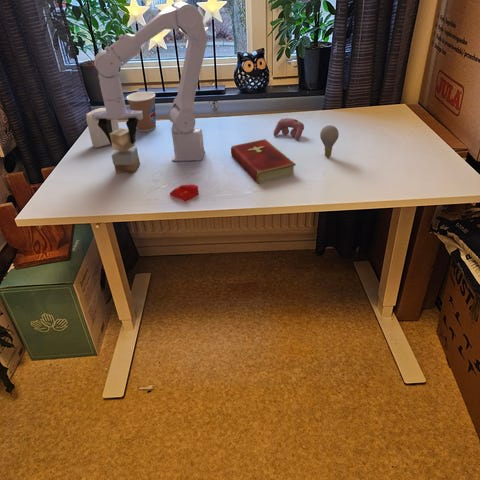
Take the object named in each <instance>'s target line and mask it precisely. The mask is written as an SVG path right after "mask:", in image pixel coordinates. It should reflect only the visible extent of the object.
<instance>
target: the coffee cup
mask: <svg viewBox="0 0 480 480" xmlns="http://www.w3.org/2000/svg"><path fill="white" fill-rule="evenodd" d="M155 97H156V93H155V92H153V91H137V92H132V93H130V94H128V95H127V96H126V97H125V99H126V100H127V102H128V106H129V108H130V109H129V110H134V111H142V113H143V118H142V119H141V120H138V123H137V127H136V130H138V131H140V132H148V131H152V130H155V128H156V127H157V126H156V124H157V117H156V114H157V113H156V103H155V102H156V101H155V100H156V98H155Z"/></svg>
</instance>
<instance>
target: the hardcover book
mask: <svg viewBox="0 0 480 480" xmlns="http://www.w3.org/2000/svg"><path fill="white" fill-rule="evenodd" d="M230 154H231V157H232V158H233V159H234V161H236V162H237V164H238V165H239V166H240V167H241V168H242V169H243V170H244V171H245V172H246V173H247V174H248V175H249V176H250V178H252V179H253V180H254V181H255V182H256V183H257V184H258V185H260V183H266V182H269V181H273V180H277V179H282V178H286V177H291V176H294V168H295V167H296V163H295V162H293V161H292V160H291V159H290V158H289V157H287V156H286V154H284V153H283V152H281V151H280V150H279V149H278V148H276V146H275V145H273V143H271V142H269V141H268V140H267V139H266V138H263V139H259V140H254V141H249V142H244V143H240V144H236V145H231V147H230ZM294 166H295V167H294Z"/></svg>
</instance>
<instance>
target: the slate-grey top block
mask: <svg viewBox="0 0 480 480" xmlns="http://www.w3.org/2000/svg"><path fill="white" fill-rule="evenodd" d="M138 156H139V153H138V148H137V147H135V146H134V147H132V148H130V149H128V150H127V151H125V152H123V151H118V150H114V152H113V153H112V154H111V159H112V163H113V165H133V164H134V162H135V161H136V159H137V158H138Z"/></svg>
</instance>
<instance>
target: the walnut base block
mask: <svg viewBox="0 0 480 480" xmlns="http://www.w3.org/2000/svg"><path fill="white" fill-rule="evenodd" d="M113 165H114V164H113ZM140 165H141V162H140V157H139V155H138V158H137V159H136V161H135V162H134V164H133V165H114V169H115V173H116V174H127V173H128V174H130V173H133V174H134V172H135V173H136V172H137V171H136V170H138V169H139V167H140ZM137 168H138V169H137Z"/></svg>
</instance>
